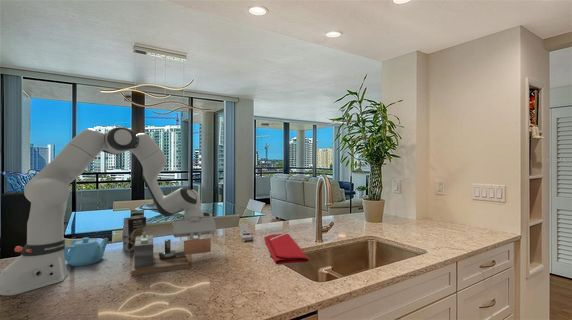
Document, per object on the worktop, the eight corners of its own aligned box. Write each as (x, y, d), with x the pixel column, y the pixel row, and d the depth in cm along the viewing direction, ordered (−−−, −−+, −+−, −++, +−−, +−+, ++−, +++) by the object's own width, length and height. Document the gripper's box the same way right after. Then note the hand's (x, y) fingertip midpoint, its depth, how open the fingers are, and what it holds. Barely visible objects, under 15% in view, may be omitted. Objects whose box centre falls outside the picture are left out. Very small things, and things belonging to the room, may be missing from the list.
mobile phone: (247, 223, 192) (253, 231, 168) (248, 232, 192) (253, 242, 168) (238, 223, 191) (242, 232, 167) (238, 232, 191) (242, 243, 167)
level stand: (189, 267, 127) (189, 235, 127) (131, 275, 118) (131, 241, 118) (183, 253, 147) (183, 225, 147) (133, 259, 138) (133, 229, 138)
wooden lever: (211, 253, 140) (211, 237, 140) (159, 259, 130) (159, 242, 130) (208, 249, 146) (208, 233, 146) (158, 255, 136) (158, 238, 136)
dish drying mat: (274, 265, 132) (275, 256, 132) (263, 240, 173) (263, 234, 173) (309, 263, 136) (309, 254, 136) (290, 239, 176) (290, 233, 176)
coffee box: (128, 251, 149) (128, 219, 149) (122, 249, 153) (122, 217, 153) (146, 247, 156) (146, 216, 156) (140, 245, 160) (140, 215, 160)
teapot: (72, 257, 139) (72, 234, 139) (108, 254, 144) (108, 232, 144) (58, 269, 125) (58, 243, 125) (99, 265, 129) (99, 240, 129)
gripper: (172, 216, 144) (173, 241, 135) (214, 213, 153) (218, 236, 144) (171, 223, 148) (172, 248, 139) (212, 220, 157) (216, 243, 148)
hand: (196, 242), depth 142 cm, fingers closed
